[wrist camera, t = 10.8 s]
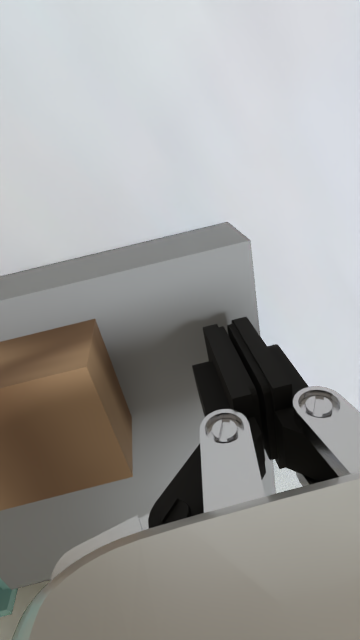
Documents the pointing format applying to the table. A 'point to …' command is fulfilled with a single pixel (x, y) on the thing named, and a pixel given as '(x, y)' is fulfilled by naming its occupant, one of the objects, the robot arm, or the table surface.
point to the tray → (6, 599)
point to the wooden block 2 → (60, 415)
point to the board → (129, 371)
